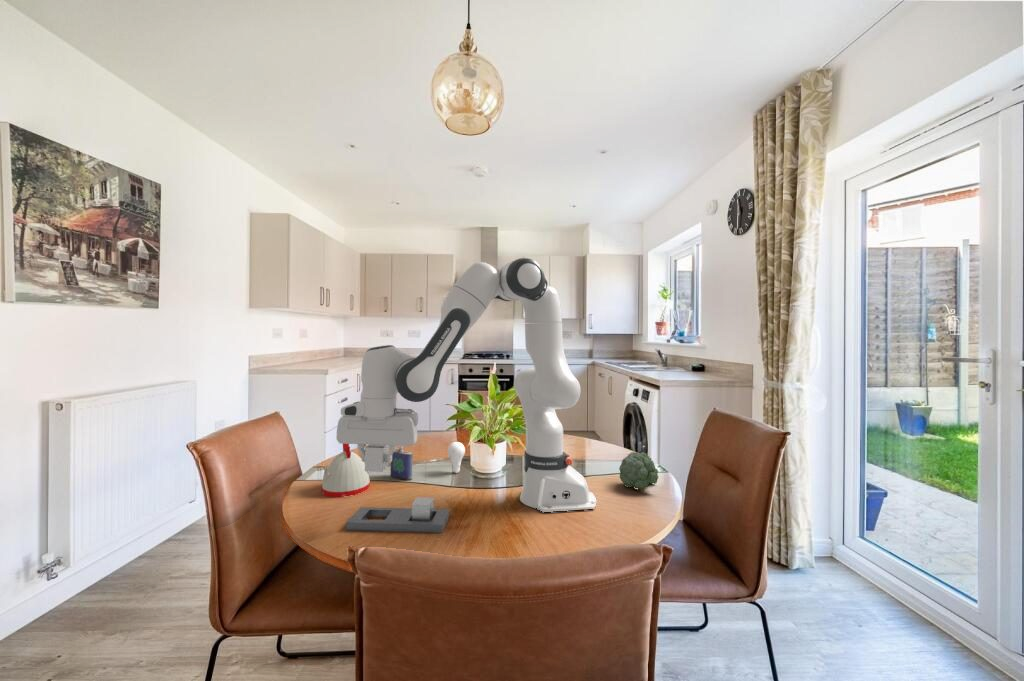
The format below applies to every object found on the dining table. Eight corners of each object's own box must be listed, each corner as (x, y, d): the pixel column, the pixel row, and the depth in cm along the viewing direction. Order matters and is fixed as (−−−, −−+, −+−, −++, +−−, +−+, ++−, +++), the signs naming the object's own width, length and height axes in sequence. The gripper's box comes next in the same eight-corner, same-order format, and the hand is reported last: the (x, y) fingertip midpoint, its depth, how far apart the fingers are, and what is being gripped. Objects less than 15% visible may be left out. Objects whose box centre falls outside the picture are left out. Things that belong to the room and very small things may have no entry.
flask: (413, 478, 136) (414, 447, 136) (407, 481, 134) (408, 449, 134) (394, 474, 141) (394, 443, 141) (387, 476, 138) (388, 445, 138)
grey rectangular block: (388, 466, 106) (388, 443, 106) (382, 471, 101) (382, 448, 101) (371, 465, 106) (372, 443, 106) (364, 471, 101) (365, 447, 102)
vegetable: (677, 484, 128) (651, 471, 121) (646, 505, 133) (619, 494, 125) (658, 453, 138) (633, 439, 130) (630, 474, 142) (604, 462, 134)
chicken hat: (363, 478, 136) (364, 434, 136) (374, 491, 125) (375, 443, 125) (318, 486, 129) (319, 439, 128) (325, 501, 117) (326, 449, 117)
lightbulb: (457, 477, 138) (457, 445, 138) (443, 473, 142) (444, 442, 142) (468, 472, 144) (468, 441, 144) (455, 469, 147) (455, 439, 147)
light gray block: (433, 520, 105) (433, 497, 105) (429, 528, 101) (429, 504, 101) (416, 520, 106) (416, 497, 106) (411, 528, 101) (411, 504, 101)
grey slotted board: (449, 516, 108) (449, 509, 108) (442, 532, 99) (442, 524, 99) (360, 514, 108) (360, 507, 108) (346, 530, 99) (346, 522, 99)
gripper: (421, 407, 107) (419, 459, 107) (345, 404, 107) (343, 456, 107) (414, 411, 100) (413, 466, 100) (334, 408, 101) (332, 463, 101)
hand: (376, 461), depth 104 cm, fingers closed on grey rectangular block, 4 cm apart
